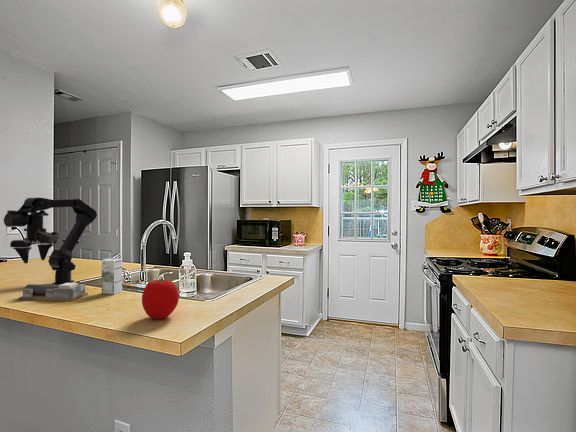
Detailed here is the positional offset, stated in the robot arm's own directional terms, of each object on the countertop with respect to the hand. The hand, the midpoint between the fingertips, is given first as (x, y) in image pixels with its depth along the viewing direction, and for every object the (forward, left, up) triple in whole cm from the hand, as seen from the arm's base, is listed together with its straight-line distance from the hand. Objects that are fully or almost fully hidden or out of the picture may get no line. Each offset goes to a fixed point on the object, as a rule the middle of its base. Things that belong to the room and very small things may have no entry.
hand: (34, 261), depth 140 cm
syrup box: (+5, +37, -12) cm, 39 cm away
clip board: (+13, +19, -12) cm, 26 cm away
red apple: (+35, +70, -12) cm, 79 cm away
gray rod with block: (+13, +17, -11) cm, 24 cm away
